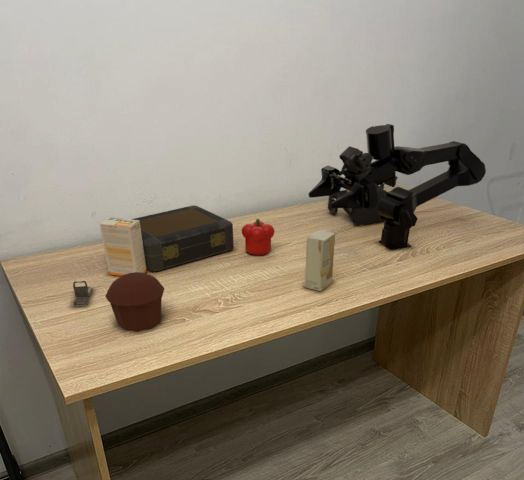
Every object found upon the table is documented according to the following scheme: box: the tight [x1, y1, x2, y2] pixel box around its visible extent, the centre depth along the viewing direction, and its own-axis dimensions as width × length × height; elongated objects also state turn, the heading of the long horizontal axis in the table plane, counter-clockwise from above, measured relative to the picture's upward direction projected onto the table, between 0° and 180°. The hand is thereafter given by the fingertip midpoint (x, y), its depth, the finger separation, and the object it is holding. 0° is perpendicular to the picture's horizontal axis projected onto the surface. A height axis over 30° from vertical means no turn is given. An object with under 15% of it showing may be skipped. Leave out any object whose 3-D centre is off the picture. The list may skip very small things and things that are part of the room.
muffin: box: [104, 272, 165, 333], centre depth 108 cm, size 12×11×10 cm
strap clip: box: [72, 280, 92, 307], centre depth 118 cm, size 8×3×4 cm, turn 8°
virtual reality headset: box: [327, 164, 388, 226], centre depth 163 cm, size 19×24×15 cm
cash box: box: [131, 204, 234, 272], centre depth 141 cm, size 25×20×8 cm
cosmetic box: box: [304, 229, 336, 292], centre depth 121 cm, size 6×4×12 cm
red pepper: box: [241, 218, 275, 257], centre depth 139 cm, size 7×7×9 cm
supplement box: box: [99, 216, 148, 277], centre depth 127 cm, size 8×5×13 cm, turn 70°
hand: (319, 200), depth 125 cm, fingers open, 9 cm apart
